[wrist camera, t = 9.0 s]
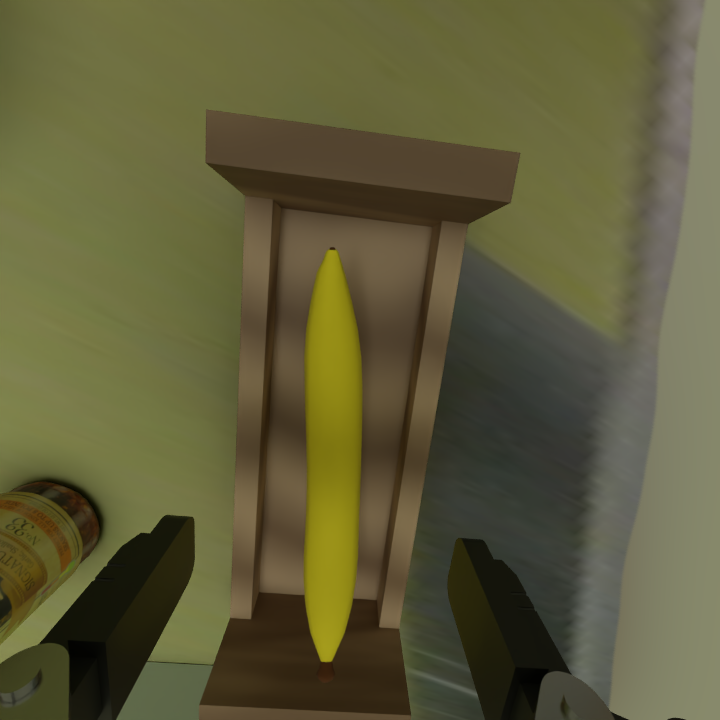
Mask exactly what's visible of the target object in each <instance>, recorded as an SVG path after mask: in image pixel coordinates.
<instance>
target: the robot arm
mask: <svg viewBox="0 0 720 720" xmlns="http://www.w3.org/2000/svg"><path fill="white" fill-rule="evenodd" d="M194 560H195V535H194V518H193V517H187V516H174V515H165V516H164V517H163V518H162V519H161V520H160V521H159V523H158V524H157V525H156V527H155V528H154V529H153V531H152V532H151V533H140V534H139V535H137V536H136V537H134V538H133V539H132V540H130V541H129V542H127V543H126V544H124V545H123V546H122V547H121V548H120V549H119V550H118V551H117V553H116V554H115V555H114V556H113V557H112V558H111V560H110V561H109V562H108V564H107V566H106V567H104V568H103V569H102V570H101V571H100V573H99V574H98V575H97V576H96V577H95V580H94V581H92V582H91V583H90V584H89V586H88V587H87V588H86V589H85V590H84V592H83V593H82V594H81V595H80V596H79V598H78V599H77V600H76V601H75V602H74V603H73V605H72V606H71V607H70V608H69V609H68V611H67V612H66V613H65V614H64V615H63V616H62V618H61V619H60V620H59V621H58V622H57V624H56V625H55V626H54V627H53V628H52V629H51V631H50V632H49V633H48V634H47V635H46V637H45V638H44V639H43V640H42V641H41V642H40V643H39V644H38V645H36V646H32V647H30V648H27V649H24V650H22V651H20V652H18V653H16V654H14V655H13V656H11V657H9V658H8V659H6V660H5V661H3V662H2V663H1V664H0V720H116V719H117V717H118V715H119V713H120V711H121V709H122V708H123V706H124V704H125V702H126V700H127V698H128V696H129V694H130V692H131V691H132V689H133V687H134V685H135V683H136V681H137V679H138V677H139V675H140V674H141V672H142V670H143V668H144V666H145V664H146V662H147V660H148V658H149V656H150V655H151V653H152V651H153V649H154V647H155V645H156V643H157V641H158V639H159V638H160V636H161V634H162V632H163V630H164V628H165V626H166V624H167V622H168V620H169V619H170V617H171V615H172V613H173V611H174V609H175V607H176V605H177V603H178V602H179V600H180V598H181V596H182V594H183V592H184V590H185V588H186V586H187V584H188V582H189V580H190V577H191V574H192V571H193V567H194ZM448 596H449V601H450V605H451V608H452V612H453V615H454V618H455V621H456V625H457V628H458V631H459V635H460V638H461V641H462V645H463V648H464V651H465V654H466V658H467V661H468V664H469V668H470V671H471V674H472V678H473V681H474V684H475V688H476V691H477V694H478V697H479V701H480V704H481V707H482V711H483V714H484V717H485V720H628V719H626V718H623V717H621V716H619V715H616V714H614V713H612V712H611V711H610V710H609V708H608V707H607V705H606V704H605V702H604V701H603V700H602V699H601V698H600V696H599V695H598V694H597V693H596V692H595V691H594V690H593V689H592V688H591V687H589V686H588V685H587V684H586V683H584V682H583V681H582V680H580V679H578V678H577V677H575V676H573V675H572V674H571V673H570V671H569V669H568V668H567V666H566V664H565V662H564V660H563V659H562V657H561V655H560V653H559V651H558V649H557V648H556V646H555V644H554V642H553V640H552V639H551V637H550V635H549V633H548V631H547V630H546V628H545V626H544V624H543V622H542V620H541V619H540V617H539V615H538V613H537V611H535V610H534V606H533V604H532V602H531V601H530V599H529V597H528V596H526V592H525V590H524V588H523V586H522V584H521V582H520V581H519V579H518V577H517V575H516V574H515V573H514V572H513V571H512V570H511V569H510V568H509V567H508V566H507V565H506V564H505V563H504V562H503V561H502V560H494V559H493V557H492V555H491V553H490V551H489V549H488V547H487V545H486V543H485V542H484V541H483V540H480V539H466V538H458V539H457V540H456V543H455V547H454V552H453V556H452V561H451V566H450V570H449V575H448ZM668 720H685V719H680V718H671V719H668Z"/></svg>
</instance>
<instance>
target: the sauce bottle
mask: <svg viewBox="0 0 720 720" xmlns="http://www.w3.org/2000/svg"><path fill="white" fill-rule="evenodd" d="M99 531H100V530H99V523H98V520H97V517H96V515H95V512H94V510H93V508H92V507H91V505H90V504H89V503H88V501H87V500H86V499H85V498H83V497H82V496H81V494H80V493H77V492H75V491H73V490H72V489H69V488H67V487H64V486H62V485H58V484H53V483H51V482H45V481H41V482H34V483H31V484H28V485H24V486H20V487H18V488H16V489H14V490H12V491H10V492H8V493H3V494H0V645H1V644H2V643H3V642H4V641H5V640H6V639H7V638H8V637H9V636H10V635H11V634H12V633H13V632H14V631H15V630H16V629H17V628H18V627H19V626H20V625H21V624H22V623H23V622H24V621H25V620H26V619H27V618H28V617H29V616H30V615H31V614H32V613H33V612H34V611H35V610H36V609H37V608H38V607H39V606H40V605H41V604H42V603H43V602H44V601H45V600H46V599H47V598H48V597H49V596H50V595H52V594H53V593H54V592H55V591H56V590H57V589H58V588H59V587H60V586H61V585H62V584H63V583H64V582H65V581H66V580H67V579H68V578H69V577H70V576H71V575H72V574H73V573H74V572H75V570H76V569H77V567H78V565H79V564H80V563H81V562H82V561H83V560H85V559H86V558H87V557H88V556H89V555H90V553H91V552H92V550H93V549H94V547H95V545H96V543H97V540H98V538H99Z"/></svg>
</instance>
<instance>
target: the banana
mask: <svg viewBox="0 0 720 720" xmlns="http://www.w3.org/2000/svg"><path fill="white" fill-rule="evenodd" d="M304 376H305V419H306V453H307V497H306V523H305V542H304V592H305V605H306V612H307V617H308V622H309V628H310V633H311V636H312V638H313V641H314V644H315V647H316V650H317V652H318V655H319V658H320V666H319V669H318V671H317V674H316V675H317V678H318V679H319V680H320V681H321V682H323V683H327V682H330V681H331V680H332V679H334V676H335V671H334V668H333V662H332V660H333V658H334V656H335V654H336V651H337V649H338V647H339V644H340V642H341V640H342V638H343V635H344V633H345V630H346V626H347V622H348V619H349V615H350V611H351V607H352V602H353V596H354V589H355V583H356V575H357V562H358V541H359V509H360V479H361V447H362V363H361V351H360V343H359V335H358V328H357V323H356V318H355V314H354V309H353V304H352V300H351V296H350V292H349V288H348V284H347V279H346V275H345V272H344V269H343V265H342V262H341V259H340V255H339V252H338V251H337V250H336V249H335V247H330V249H329V250H327V251H326V253H325V256H324V259H323V261H322V263H321V265H320V267H319V269H318V271H317V274H316V279H315V283H314V288H313V292H312V297H311V303H310V309H309V315H308V321H307V327H306V339H305V353H304Z"/></svg>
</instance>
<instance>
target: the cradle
mask: <svg viewBox="0 0 720 720" xmlns="http://www.w3.org/2000/svg"><path fill="white" fill-rule="evenodd" d="M519 157H520V153H517V152H509V151H502V150H495V149H488V148H481V147H473V146H466V145H459V144H452V143H445V142H437V141H430V140H423V139H416V138H409V137H401V136H394V135H387V134H380V133H372V132H365V131H358V130H351V129H344V128H336V127H329V126H322V125H315V124H308V123H300V122H293V121H286V120H279V119H271V118H264V117H257V116H250V115H243V114H235V113H228V112H221V111H214V110H207V109H206V163H207V164H208V165H209V166H210V167H211V168H213V169H214V170H215V171H216V172H217V173H219V174H220V175H221V176H222V177H223V178H225V179H226V180H227V181H228V182H229V183H231V184H232V185H233V186H234V187H235V188H237V189H238V190H239V191H240V192H241V193H243V194H244V195H245V221H244V249H243V276H242V304H241V332H240V360H239V388H238V416H237V443H236V471H235V499H234V527H233V555H232V582H231V610H230V620H229V623H228V626H227V628H226V631H225V634H224V637H223V640H222V642H221V645H220V648H219V651H218V653H217V656H216V659H215V662H214V665H213V667H212V670H211V673H210V676H209V679H208V681H207V684H206V687H205V690H204V693H203V695H202V698H201V701H200V704H199V720H410V719H411V711H410V704H409V697H408V690H407V683H406V676H405V668H404V661H403V654H402V647H401V640H400V633H399V625H400V619H401V613H402V608H403V602H404V596H405V590H406V584H407V578H408V573H409V567H410V561H411V555H412V549H413V543H414V537H415V532H416V526H417V520H418V514H419V508H420V502H421V497H422V491H423V485H424V479H425V473H426V467H427V461H428V456H429V450H430V444H431V438H432V432H433V426H434V420H435V415H436V409H437V403H438V397H439V391H440V385H441V380H442V374H443V368H444V362H445V356H446V350H447V344H448V339H449V333H450V327H451V321H452V315H453V309H454V304H455V298H456V292H457V286H458V280H459V274H460V268H461V263H462V257H463V251H464V245H465V239H466V233H467V228H468V224H469V223H471V222H473V221H475V220H477V219H479V218H481V217H483V216H485V215H487V214H489V213H491V212H493V211H495V210H497V209H499V208H501V207H503V206H505V205H507V204H509V203H511V199H512V193H513V188H514V183H515V178H516V173H517V168H518V162H519ZM330 247H335V249H336V250H337V251H338V252H339V255H340V259H341V262H342V265H343V269H344V272H345V275H346V279H347V284H348V288H349V292H350V296H351V300H352V304H353V309H354V314H355V318H356V323H357V328H358V335H359V343H360V351H361V363H362V447H361V479H360V509H359V541H358V562H357V575H356V583H355V589H354V596H353V602H352V607H351V611H350V615H349V619H348V622H347V626H346V630H345V633H344V635H343V638H342V640H341V642H340V644H339V647H338V649H337V651H336V654H335V656H334V658H333V660H332V662H333V668H334V671H335V676H334V679H332V680H331V681H330V682H327V683H323V682H321V681H320V680H319V679H318V678H317V675H316V674H317V671H318V669H319V666H320V658H319V655H318V652H317V650H316V647H315V644H314V641H313V638H312V636H311V633H310V628H309V622H308V617H307V612H306V605H305V592H304V542H305V523H306V497H307V453H306V419H305V376H304V353H305V339H306V327H307V321H308V315H309V309H310V303H311V297H312V292H313V288H314V283H315V279H316V274H317V271H318V269H319V267H320V265H321V263H322V261H323V259H324V256H325V253H326V251H327V250H329V249H330Z"/></svg>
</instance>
